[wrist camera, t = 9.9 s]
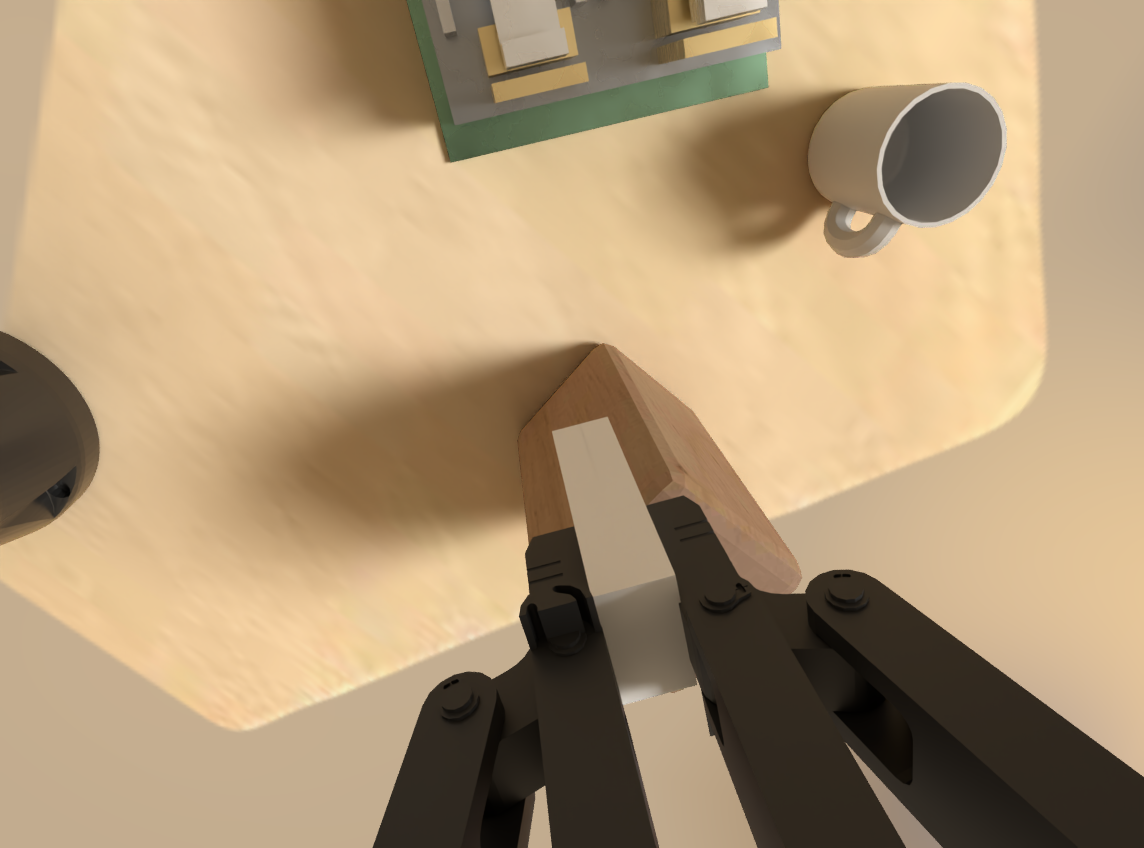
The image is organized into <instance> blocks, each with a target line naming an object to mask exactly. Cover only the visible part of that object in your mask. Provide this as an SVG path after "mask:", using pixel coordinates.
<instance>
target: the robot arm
mask: <svg viewBox="0 0 1144 848" xmlns="http://www.w3.org/2000/svg"><path fill="white" fill-rule="evenodd" d="M552 434H553V438H554V443H555V447H556V451H557V455H558V459H559V464H560V468H561V472H562V476H563V480H564V484H565V489H566V493H567V497H568V501H569V505H570V510H571V514H572V518H573V522H574V526H573V527H569V528H565V529H562V530H558V531H554V532H550V533H547V534H543V535H539V536H535V537H532V539H531V542H530V544H529V546H528V548H527V550H526V553H525V558H526V566H527V575H528V583H529V593H530V594H529V595H528V596H527V598H526V599H525V601H524V602H523V604H522V605H521V608H520V614H519V618H520V621H521V624H522V626H523V629H524V632H525V635H526V638H527V641H528V644H529V647H530V649H529V651H528V652H527V654H526V655H525V657H524V658H523V659H522V660H521V661H520V662H519V663H518V664H517V665H515V666H514V667H512V668H511V669H509V670H508V671H506V672H504V673H503V674H501V675H499V676H498V677H496V678H494V679H491V678H490V677H488V676H486V675H484V674H483V673H479V672H464V673H460V674H456V675H453V676H452V677H449V678H448V679H446V680H444V681H442V682H441V683H440V684H439V685H437V686H436V687H435V688H434V689H433V690H432V691H431V692H430V693H429V695H428V697H427V699H426V701H425V702H424V704H423V706H422V709H421V712H420V714H419V717H418V720H417V723H416V726H415V729H414V731H413V734H412V737H411V740H410V743H409V746H408V749H407V752H406V754H405V757H404V760H403V763H402V766H401V768H400V771H399V774H398V777H397V780H396V783H395V786H394V789H393V791H392V794H391V797H390V800H389V803H388V806H387V808H386V811H385V814H384V817H383V820H382V823H381V825H380V828H379V831H378V834H377V837H376V840H375V842H374V845H373V848H528V842H529V835H530V829H531V822H532V815H533V809H534V802H535V791H537V790H538V789H540V788H542V787H543V786H546V795H547V805H548V813H549V823H550V832H551V842H552V848H659V845H658V841H657V837H656V833H655V829H654V825H653V821H652V817H651V813H650V809H649V805H648V801H647V798H646V793H645V789H644V785H643V781H642V777H641V773H640V769H639V766H638V761H637V757H636V754H635V750H634V746H633V742H632V738H631V734H630V730H629V726H628V723H627V719H626V715H625V712H624V708H623V705H625V704H628V703H633V702H636V701H640V700H643V699H647V698H650V697H654V696H658V695H662V694H665V693H669V692H673V691H676V690H680V689H684V688H687V687H691V686H695V685H697V681H696V677H697V680H698V682H699V685H700V687H701V691H702V696H703V701H704V707H705V711H706V717H707V722H708V727H709V732H710V736H713V735H715V737H716V739H717V742H718V744H719V747H720V750H721V752H722V755H723V758H724V760H725V763H726V766H727V768H728V771H729V774H730V776H731V779H732V781H733V784H734V786H735V789H736V792H737V795H738V797H739V800H740V803H741V805H742V808H743V810H744V813H745V816H746V818H747V821H748V824H749V826H750V829H751V832H752V834H753V837H754V840H755V842H756V845H757V847H758V848H906V847H905V845H904V843H903V842H902V840H901V838H900V836H899V835H898V833H897V831H896V830H895V828H894V826H893V824H892V823H891V821H890V819H889V818H888V816H887V814H886V812H885V810H884V809H883V807H882V805H881V804H880V802H879V800H878V798H877V797H876V795H875V793H874V791H873V790H872V788H871V787H870V785H869V783H868V781H867V779H866V778H865V776H864V774H863V773H862V771H861V769H860V767H859V766H858V764H857V762H856V760H855V759H854V757H853V755H852V754H851V752H850V750H849V748H848V747H847V745H846V743H847V744H848V746H850V747H851V749H853V751H854V752H855V753H856V754H857V755H858V756H859V757H860V758H861V760H862V761H863V762H864V763H865V764H866V765H867V766H868V767H869V768H870V769H871V770H872V771H873V772H874V774H875V775H876V776H877V777H878V778H879V779H880V780H881V781H882V782H883V783H884V784H885V786H886V787H888V789H889V790H890V791H891V792H892V793H893V794H894V795H895V796H896V797H897V798H898V800H899V801H900V802H901V803H902V804H903V805H904V806H905V807H906V808H907V809H908V810H909V811H910V812H911V814H912V815H913V816H914V817H915V818H916V819H917V820H918V821H919V822H920V823H921V824H922V825H923V826H924V828H925V829H926V830H927V831H928V832H929V833H930V834H931V835H932V836H933V837H934V838H935V839H936V841H937V842H938V843H939V844H940V845H941V846H942V847H943V848H1144V777H1143V776H1142V775H1140V774H1139V773H1138V772H1136V771H1135V770H1133V769H1132V768H1131V767H1129V766H1128V765H1127V764H1125V763H1124V762H1123V761H1121V760H1120V759H1119V758H1117V757H1116V756H1115V755H1113V754H1112V753H1110V752H1109V751H1108V750H1106V749H1105V748H1104V747H1102V746H1101V745H1100V744H1098V743H1097V742H1096V741H1094V740H1093V739H1092V738H1090V737H1089V736H1088V735H1086V734H1085V733H1083V732H1082V731H1081V730H1079V729H1078V728H1077V727H1075V726H1074V725H1072V724H1071V723H1070V722H1069V721H1067V720H1066V719H1064V718H1063V717H1062V716H1060V715H1059V714H1057V713H1056V712H1055V711H1054V710H1052V709H1051V708H1050V707H1048V706H1047V705H1046V704H1044V703H1043V702H1042V701H1040V700H1039V699H1038V698H1036V697H1035V696H1034V695H1032V694H1031V693H1029V692H1028V691H1027V690H1025V689H1024V688H1023V687H1021V686H1020V685H1019V684H1017V683H1016V682H1014V681H1013V680H1012V679H1011V678H1009V677H1008V676H1007V675H1005V674H1004V673H1003V672H1001V671H1000V670H998V669H997V668H996V667H994V666H993V665H991V664H990V663H989V662H988V661H986V660H985V659H984V658H982V657H981V656H980V655H978V654H977V653H975V652H974V651H973V650H971V649H970V648H969V647H967V646H966V645H965V644H963V643H962V642H961V641H959V640H958V639H957V638H955V637H954V636H952V635H951V634H950V633H948V632H947V631H946V630H944V629H943V628H942V627H940V626H939V625H938V624H936V623H935V622H934V621H932V620H931V619H930V618H928V617H927V616H925V615H924V614H923V613H921V612H920V611H919V610H917V609H916V608H915V607H913V606H912V605H911V604H909V603H908V602H907V601H905V600H904V599H903V598H901V597H900V596H898V595H897V594H896V593H894V592H893V591H892V590H890V589H889V588H888V587H886V586H885V585H884V584H882V583H881V582H880V581H878V580H877V579H875V578H873V577H871V576H869V575H867V574H865V573H862V572H857V571H853V570H832V571H829V572H826V573H822V574H820V575H818V576H817V577H815V578H814V579H813V580H812V581H810V583H809V585H808V587H807V589H806V591H805V592H806V594H776V593H769V592H765V591H760V590H758V589H756V588H755V587H754V586H753V585H752V584H751V583H750V582H749V581H748V580H745V579H743V578H741V577H740V576H739V574H738V573H737V571H736V569H735V567H734V566H733V564H732V562H731V560H730V559H729V557H728V555H727V553H726V552H725V550H724V548H723V546H722V544H721V543H720V541H719V539H718V537H717V536H716V534H715V533H714V530H713V528H712V527H711V525H710V523H709V522H708V520H707V518H706V516H705V514H704V513H703V511H702V509H701V507H700V505H698V504H697V503H695V502H693V501H692V500H690V499H689V498H687V497H685V496H684V495H683V496H679V497H675V498H672V499H668V500H664V501H660V502H657V503H653V504H649V505H645V503H644V500H643V498H642V496H641V493H640V491H639V489H638V486H637V484H636V482H635V480H634V477H633V475H632V473H631V470H630V468H629V466H628V463H627V461H626V459H625V456H624V454H623V452H622V449H621V447H620V445H619V442H618V440H617V438H616V435H615V433H614V431H613V428H612V426H611V424H610V421H609V419H608V417H604V418H600V419H597V420H593V421H589V422H585V423H581V424H578V425H574V426H570V427H566V428H563V429H559V430H555V431H552ZM98 461H99V438H98V432H97V428H96V424H95V421H94V419H93V416H92V414H91V412H90V409H89V407H88V405H87V404H86V402H85V400H84V399H83V397H82V395H81V394H80V392H79V391H78V390H77V388H76V387H75V386H74V384H73V383H72V382H71V381H70V380H69V379H68V377H67V376H66V375H65V374H64V373H63V372H62V371H61V370H60V369H59V368H58V367H56V366H55V365H54V364H53V363H52V362H51V361H50V360H48V359H47V358H46V357H44V356H43V355H42V354H40V353H39V352H38V351H36V350H35V349H33V348H32V347H30V346H28V345H27V344H25V343H23V342H22V341H20V340H18V339H16V338H14V337H12V336H10V335H8V334H6V333H3V332H1V331H0V545H3V544H5V543H8V542H10V541H13V540H15V539H18V538H20V537H23V536H25V535H28V534H30V533H33V532H35V531H37V530H39V529H41V528H43V527H45V526H46V525H48V524H50V523H51V522H53V521H54V520H56V519H57V518H58V517H59V516H61V515H62V514H63V513H64V512H65V511H66V510H67V509H68V508H69V507H70V506H71V505H72V504H73V503H74V502H75V501H76V500H77V499H78V498H80V497H81V495H82V494H83V493H84V492H85V491H86V489H87V488H88V487H89V485H90V483H91V481H92V480H93V477H94V475H95V472H96V469H97V466H98ZM695 675H696V676H695ZM845 742H846V743H845Z"/></svg>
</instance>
